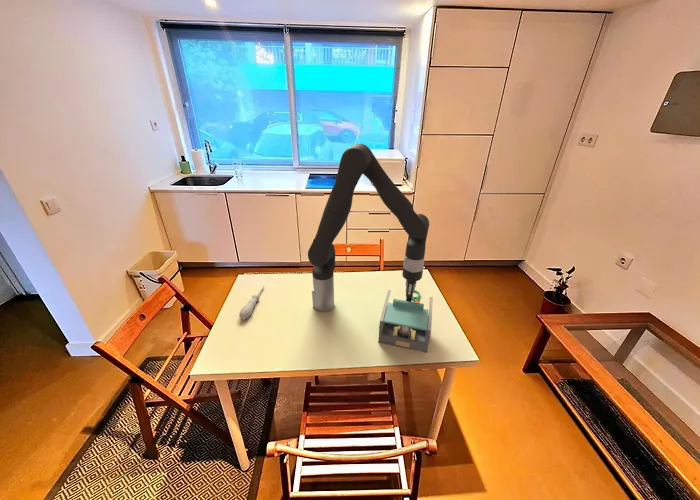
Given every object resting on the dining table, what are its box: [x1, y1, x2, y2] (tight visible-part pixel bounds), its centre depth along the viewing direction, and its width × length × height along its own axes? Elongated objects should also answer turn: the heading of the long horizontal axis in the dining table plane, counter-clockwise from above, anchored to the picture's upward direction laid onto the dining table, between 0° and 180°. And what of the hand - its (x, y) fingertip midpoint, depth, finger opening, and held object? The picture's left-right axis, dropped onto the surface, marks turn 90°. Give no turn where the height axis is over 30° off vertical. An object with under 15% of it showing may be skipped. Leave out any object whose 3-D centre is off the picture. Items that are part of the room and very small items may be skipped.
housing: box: [377, 289, 434, 353], centre depth 119 cm, size 19×20×12 cm
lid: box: [384, 298, 429, 331], centre depth 111 cm, size 16×11×3 cm
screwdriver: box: [238, 286, 265, 320], centre depth 136 cm, size 5×25×4 cm, turn 173°
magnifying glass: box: [412, 289, 421, 303], centre depth 139 cm, size 15×6×2 cm, turn 3°
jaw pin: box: [399, 326, 411, 339], centre depth 114 cm, size 4×4×9 cm
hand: (408, 302), depth 118 cm, fingers closed
